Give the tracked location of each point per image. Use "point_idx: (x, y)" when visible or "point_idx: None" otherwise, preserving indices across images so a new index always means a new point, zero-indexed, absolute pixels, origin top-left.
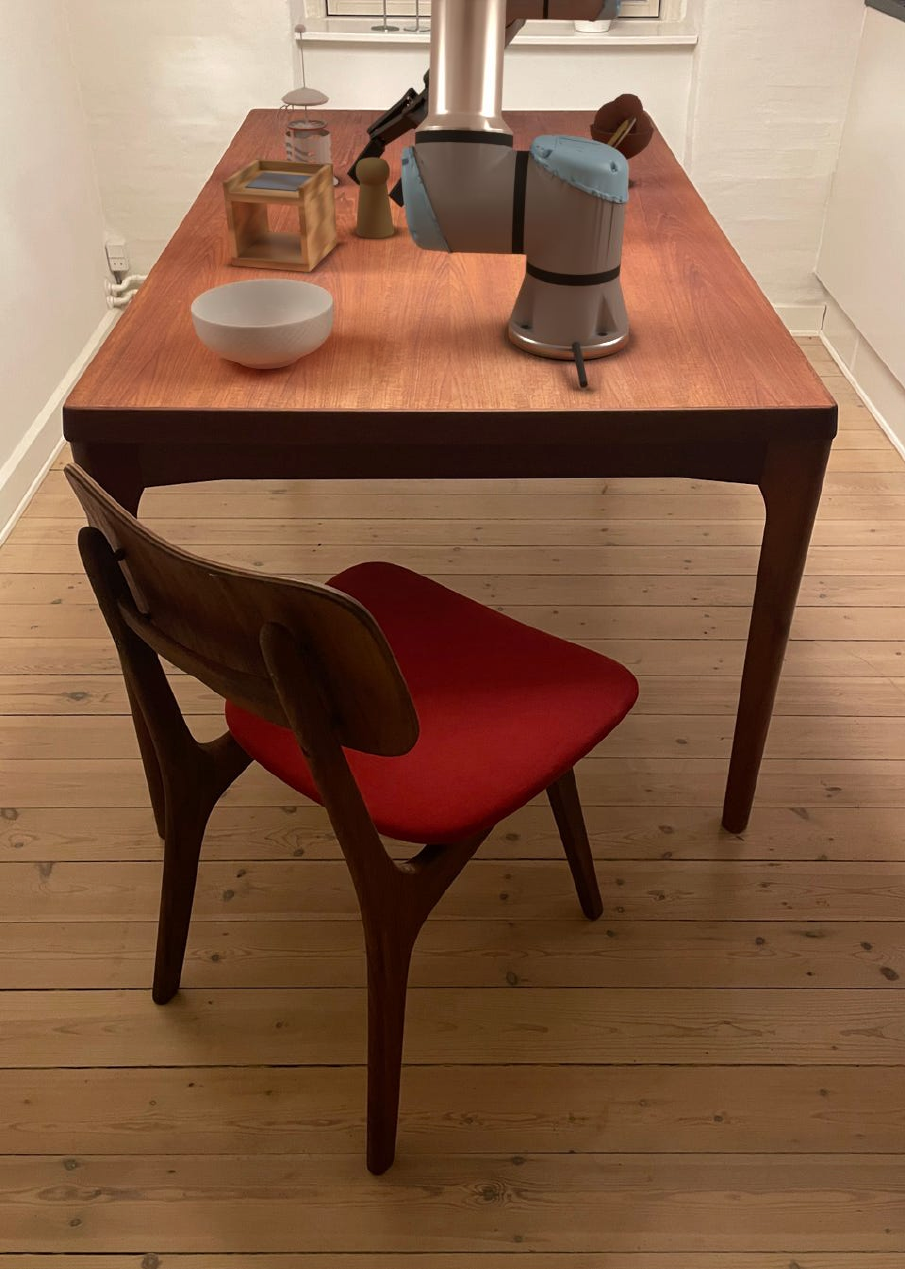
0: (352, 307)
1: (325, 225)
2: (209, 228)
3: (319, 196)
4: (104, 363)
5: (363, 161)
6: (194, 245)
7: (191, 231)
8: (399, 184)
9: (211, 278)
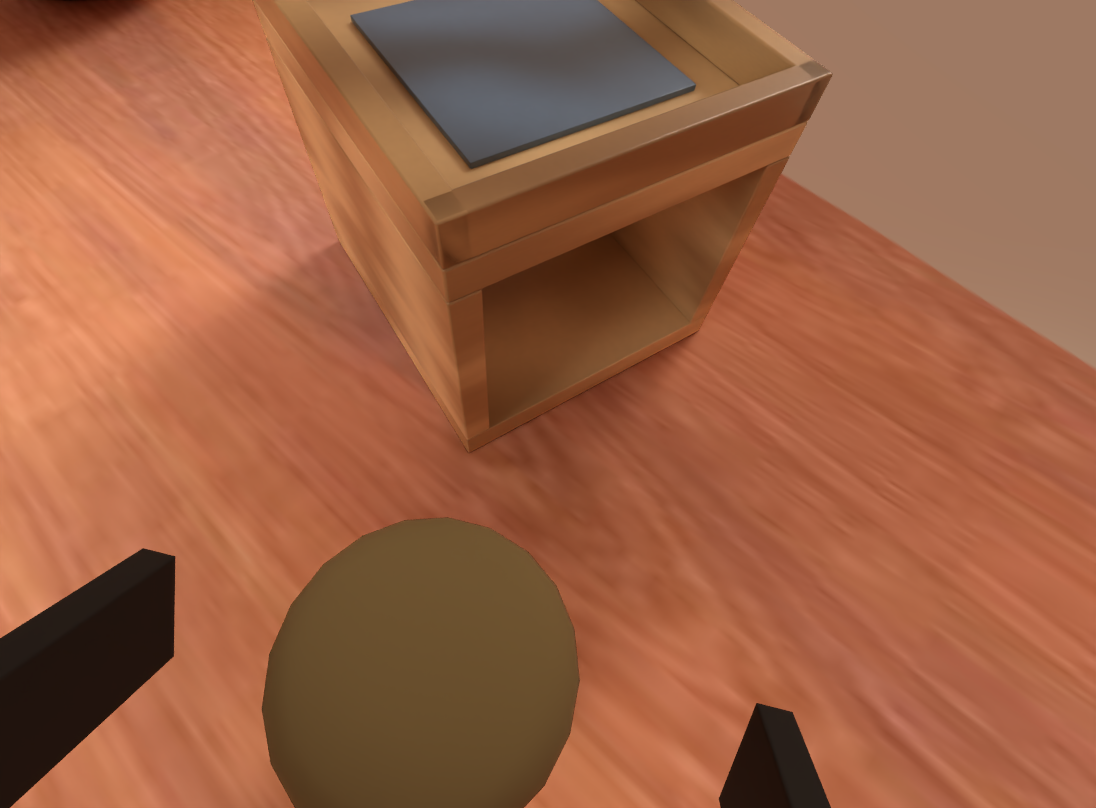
0: (54, 161)
1: (395, 297)
2: (885, 286)
3: (341, 154)
4: None
5: (450, 563)
6: None
7: (880, 243)
8: (44, 614)
9: None
